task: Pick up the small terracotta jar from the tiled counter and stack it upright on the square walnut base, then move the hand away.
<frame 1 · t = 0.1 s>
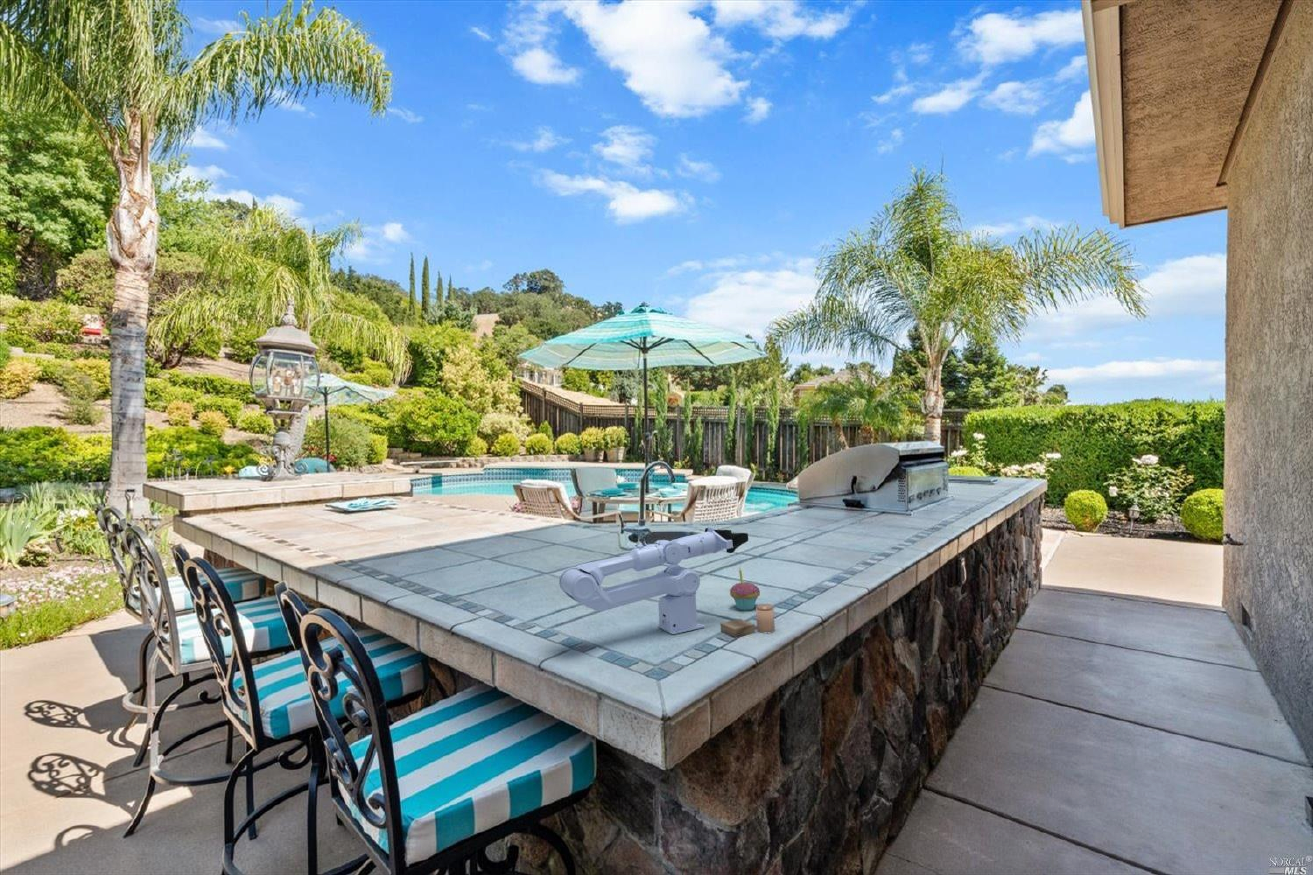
hand: (739, 535, 159), 22 cm above the worktop, tool horizontal, fingers open, 7 cm apart
jar: (765, 630, 144), on the worktop
cupcake: (745, 608, 164), on the worktop
base: (737, 631, 144), on the worktop
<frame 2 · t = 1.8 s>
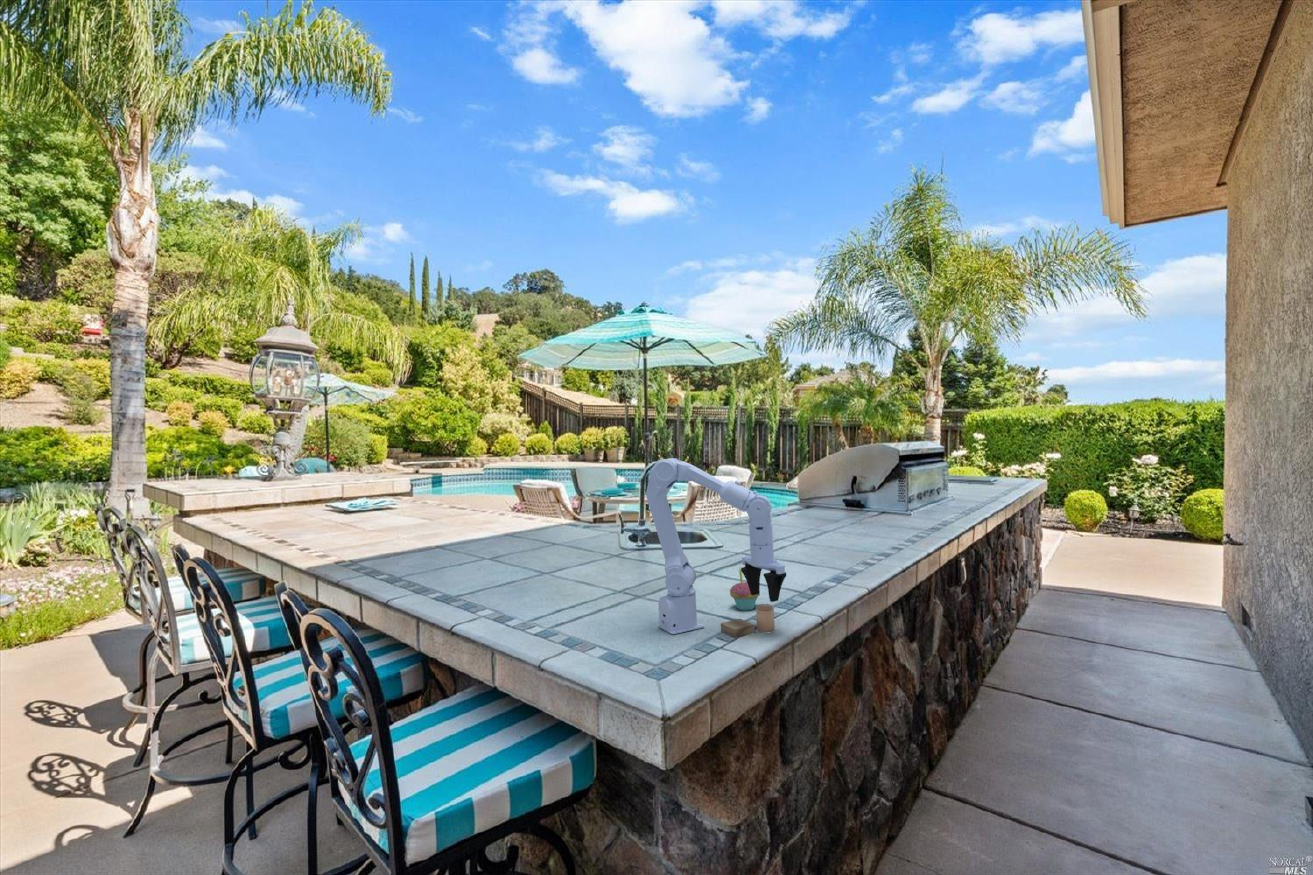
hand: (764, 597, 144), 8 cm above the worktop, tool pointing down, fingers open, 7 cm apart
nothing on the worktop moved.
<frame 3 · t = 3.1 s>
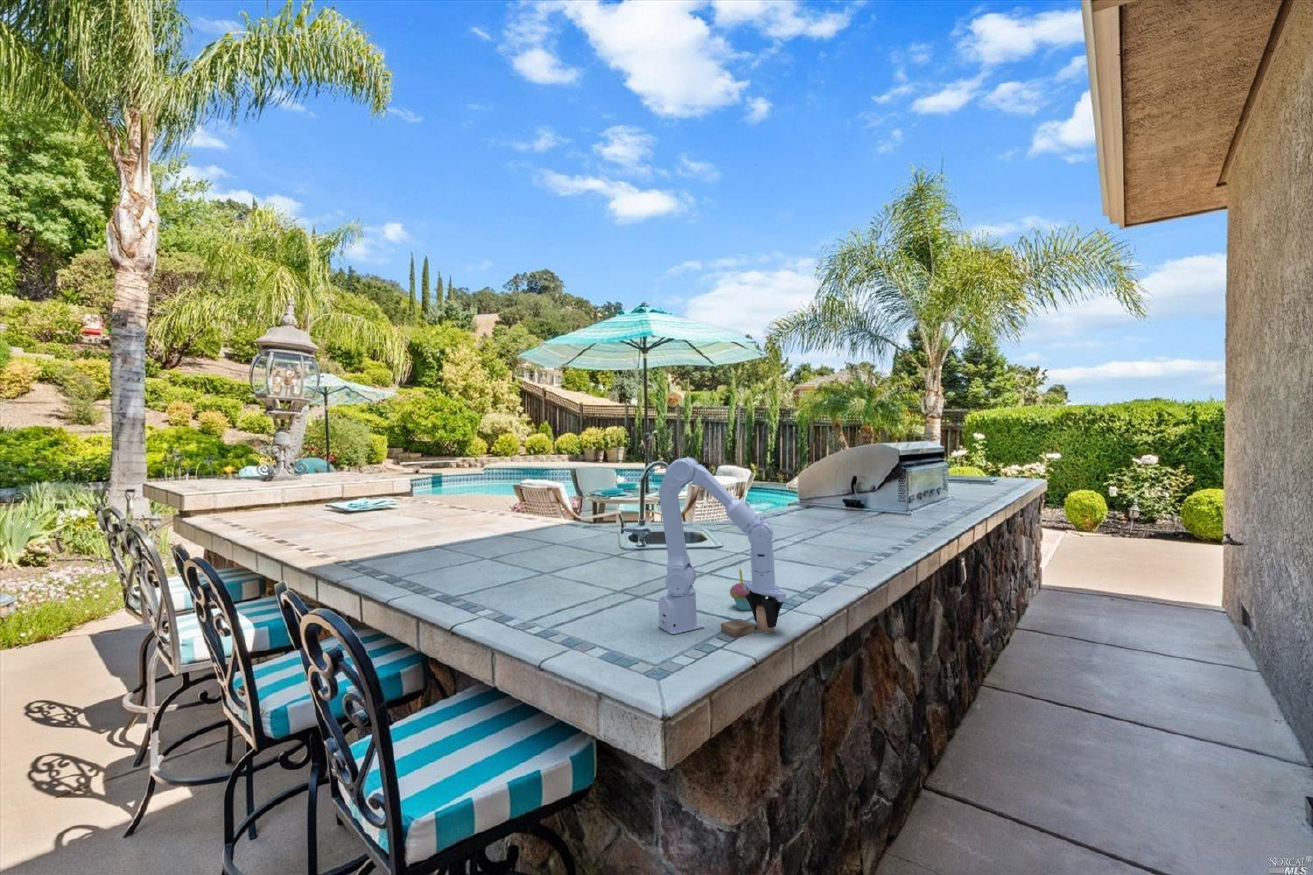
hand: (765, 624, 144), 1 cm above the worktop, tool pointing down, fingers closed on jar, 4 cm apart
jar: (765, 629, 144), on the worktop, touching gripper
everything else where it was.
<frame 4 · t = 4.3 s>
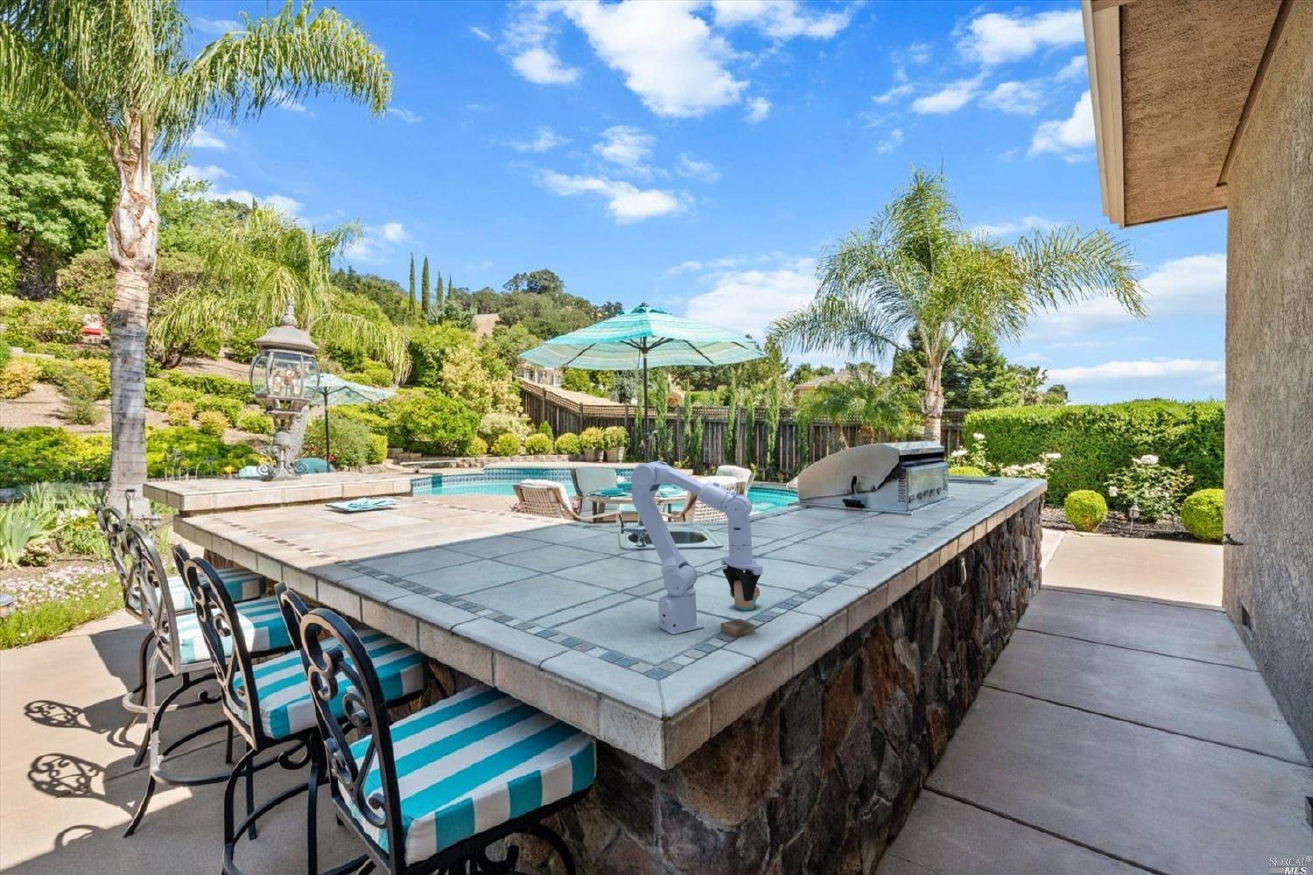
hand: (742, 598, 144), 8 cm above the worktop, tool pointing down, fingers closed on jar, 4 cm apart
jar: (743, 605, 144), point 7 cm above the worktop, touching gripper
everything else where it was.
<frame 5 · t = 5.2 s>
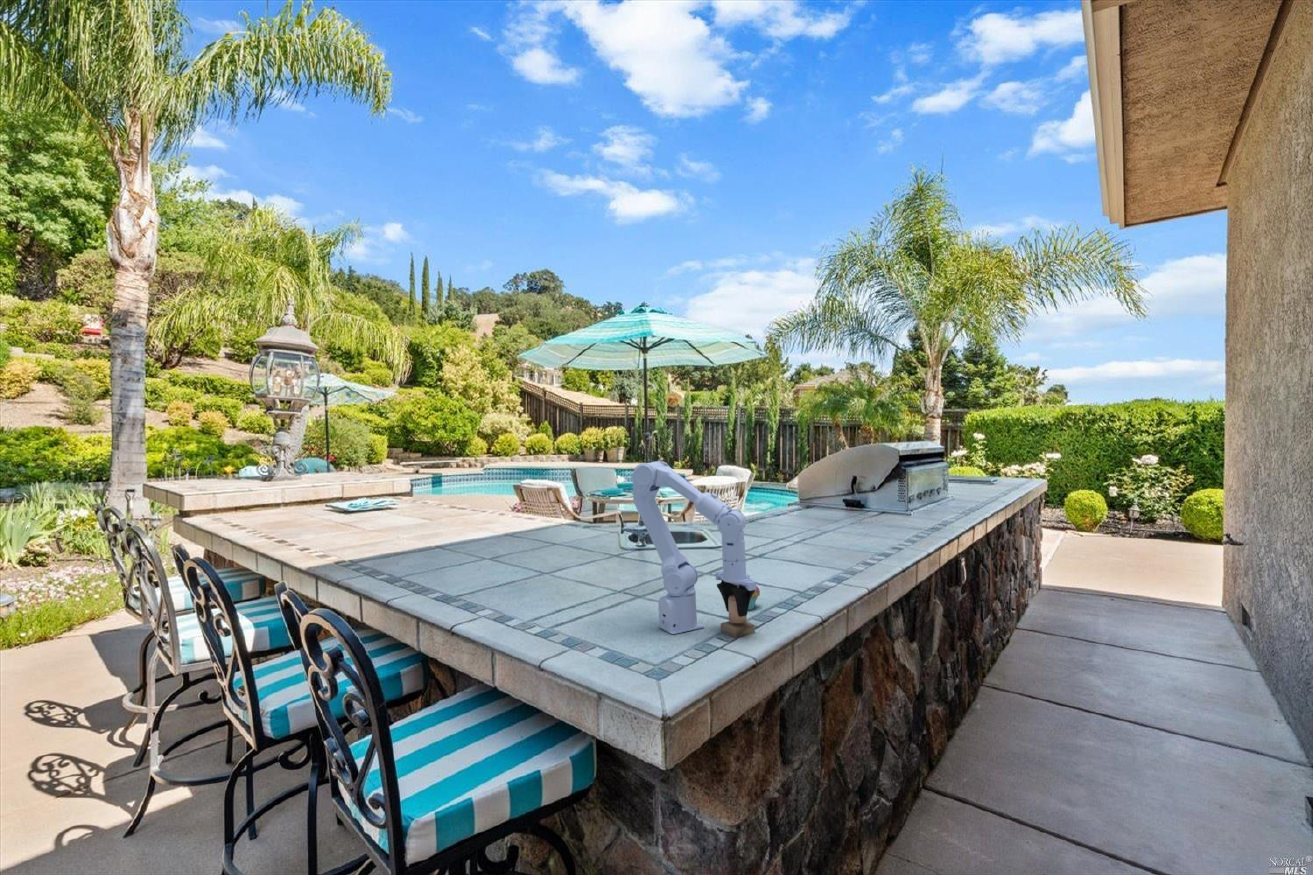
hand: (736, 613, 144), 5 cm above the worktop, tool pointing down, fingers closed on jar, 4 cm apart
jar: (737, 620, 144), point 3 cm above the worktop, touching gripper
everything else where it was.
when the fingers open (5 cm above the worktop, at t = 5.6 s): jar stays where it is, resting on base.
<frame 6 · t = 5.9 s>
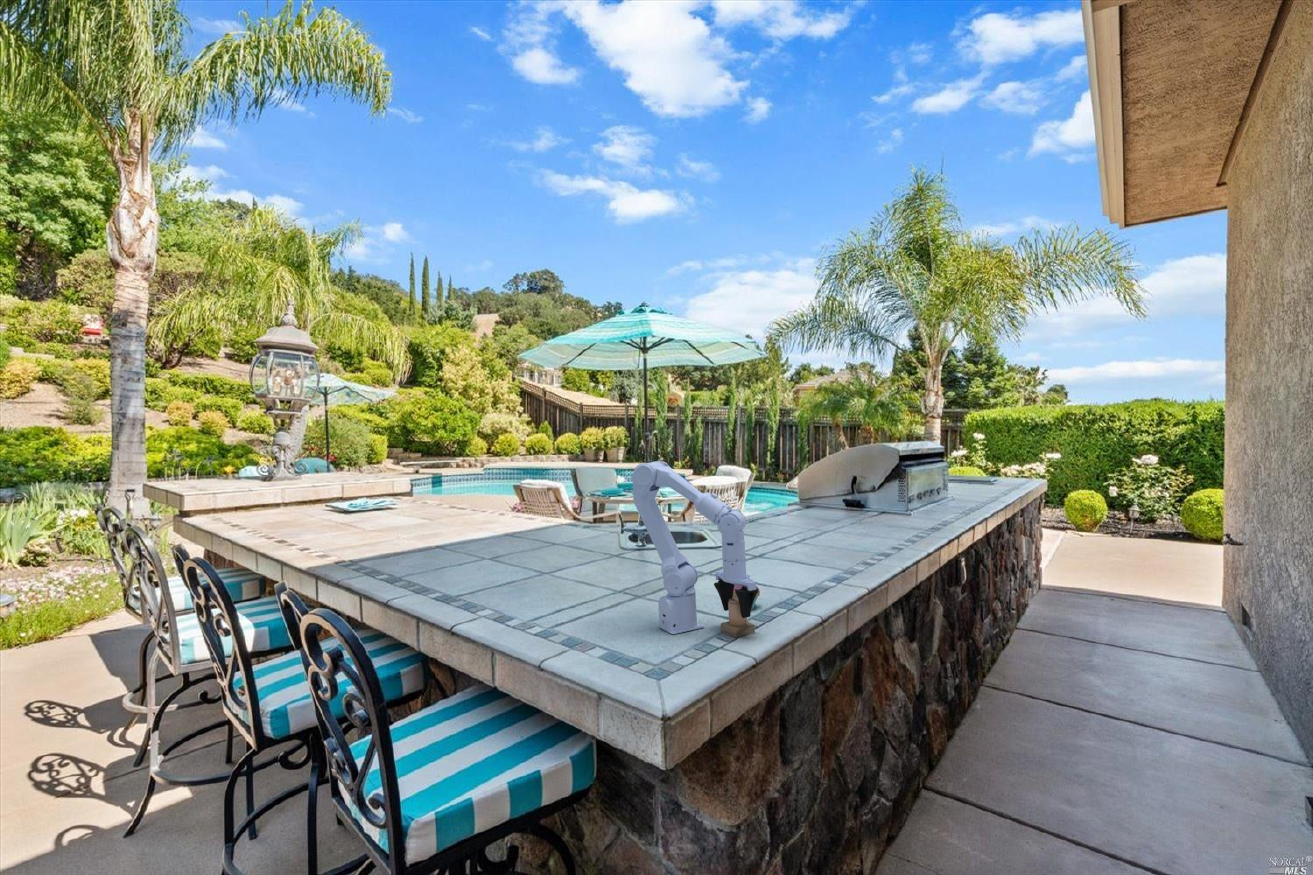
hand: (736, 613, 144), 5 cm above the worktop, tool pointing down, fingers open, 7 cm apart
jar: (737, 623, 144), point 2 cm above the worktop, touching base
everything else where it was.
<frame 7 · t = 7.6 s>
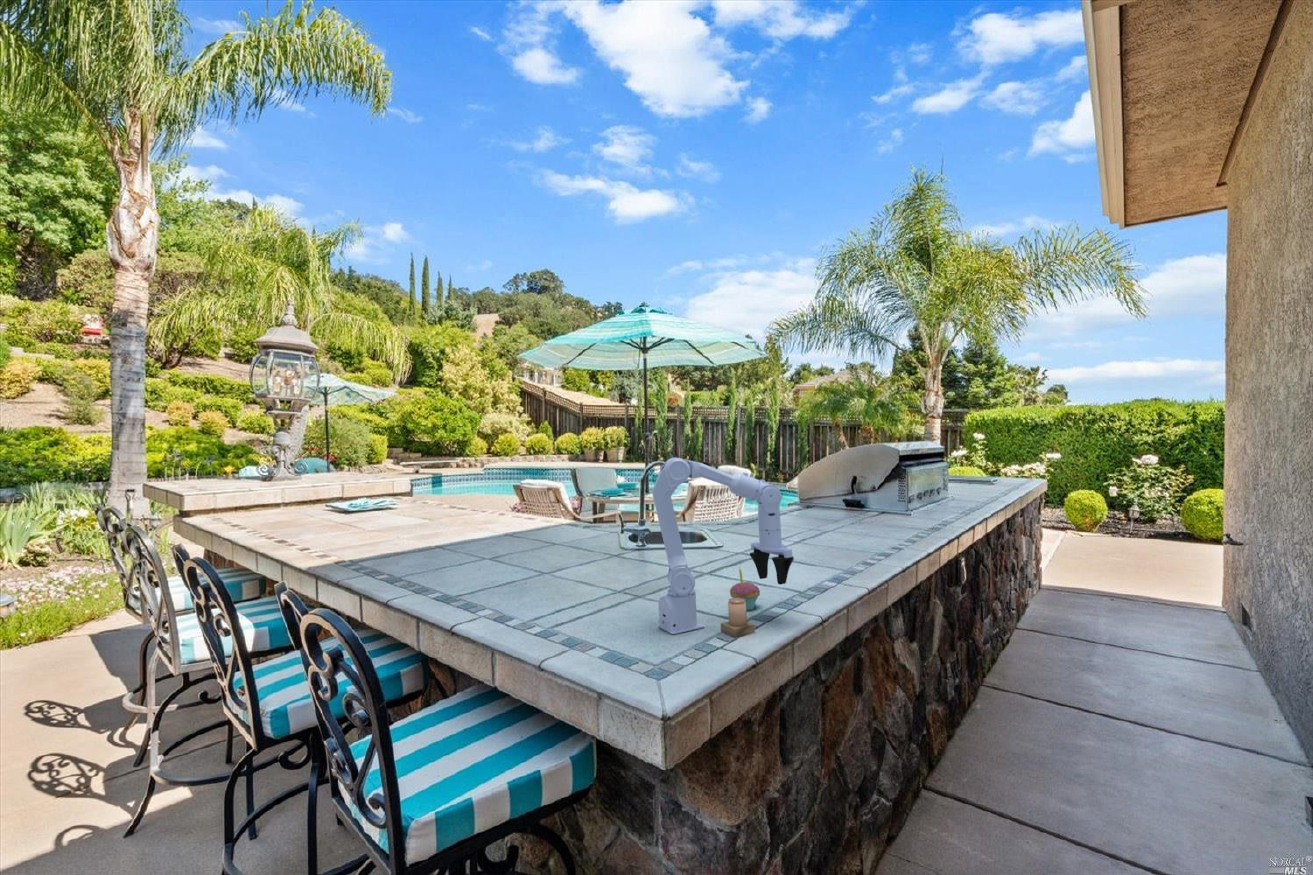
hand: (772, 580, 151), 10 cm above the worktop, tool pointing down, fingers open, 7 cm apart
nothing on the worktop moved.
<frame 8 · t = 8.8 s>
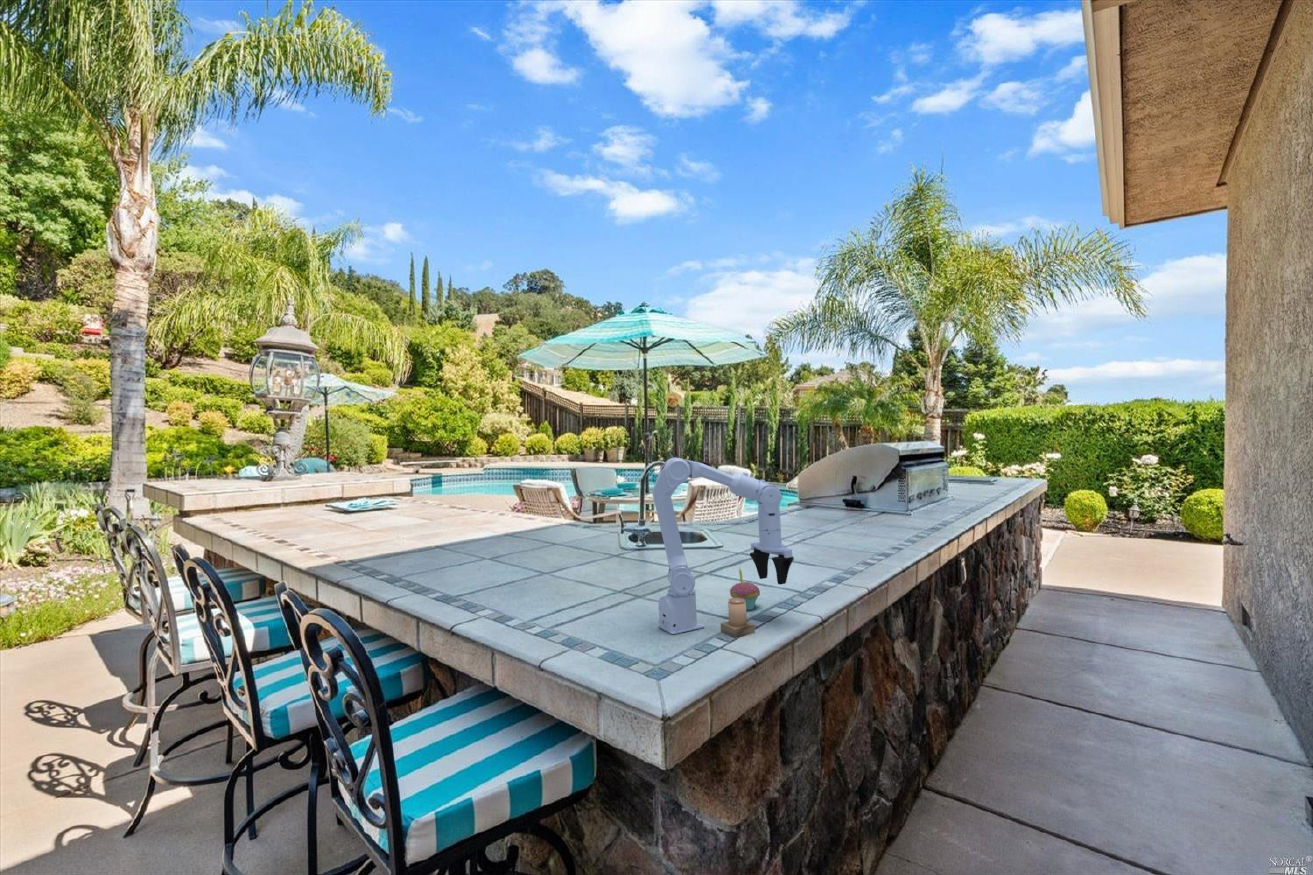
hand: (772, 580, 151), 10 cm above the worktop, tool pointing down, fingers open, 7 cm apart
nothing on the worktop moved.
at the end: jar 0.2 cm off-centre on the base, point 2.0 cm above the base's base; jar tilted 0°; the gripper is holding nothing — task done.
